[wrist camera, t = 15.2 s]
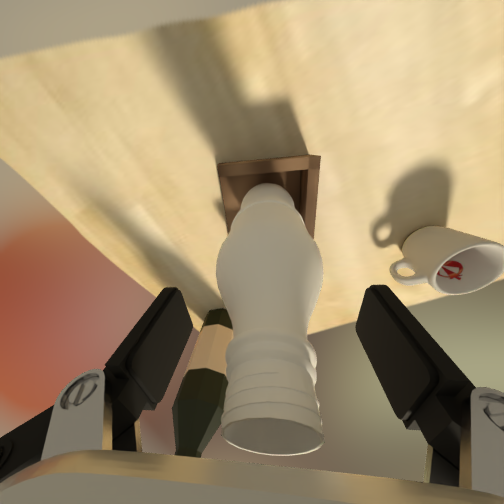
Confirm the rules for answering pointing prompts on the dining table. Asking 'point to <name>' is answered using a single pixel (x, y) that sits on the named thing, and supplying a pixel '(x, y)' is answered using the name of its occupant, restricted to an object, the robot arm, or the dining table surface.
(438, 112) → the dining table surface
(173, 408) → the wine bottle
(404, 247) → the cup
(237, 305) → the water bottle
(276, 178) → the open wooden box
